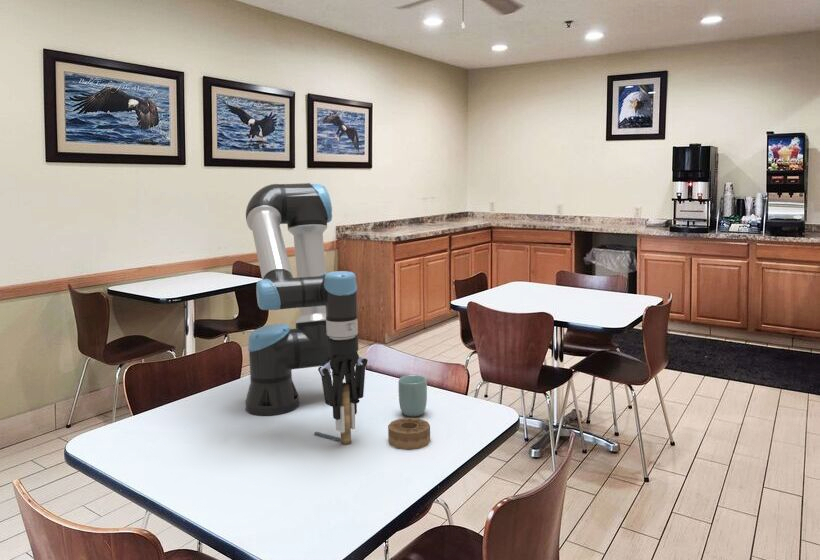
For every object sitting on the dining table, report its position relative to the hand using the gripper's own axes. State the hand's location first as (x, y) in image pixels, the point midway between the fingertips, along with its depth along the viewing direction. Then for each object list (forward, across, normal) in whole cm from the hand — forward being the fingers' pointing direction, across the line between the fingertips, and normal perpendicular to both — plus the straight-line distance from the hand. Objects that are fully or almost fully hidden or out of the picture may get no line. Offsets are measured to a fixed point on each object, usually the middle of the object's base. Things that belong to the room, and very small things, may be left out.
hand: (345, 429), depth 154 cm
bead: (+4, +12, -10) cm, 16 cm away
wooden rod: (+4, 0, 0) cm, 4 cm away
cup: (+4, +25, +3) cm, 25 cm away
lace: (+4, -2, +6) cm, 7 cm away
